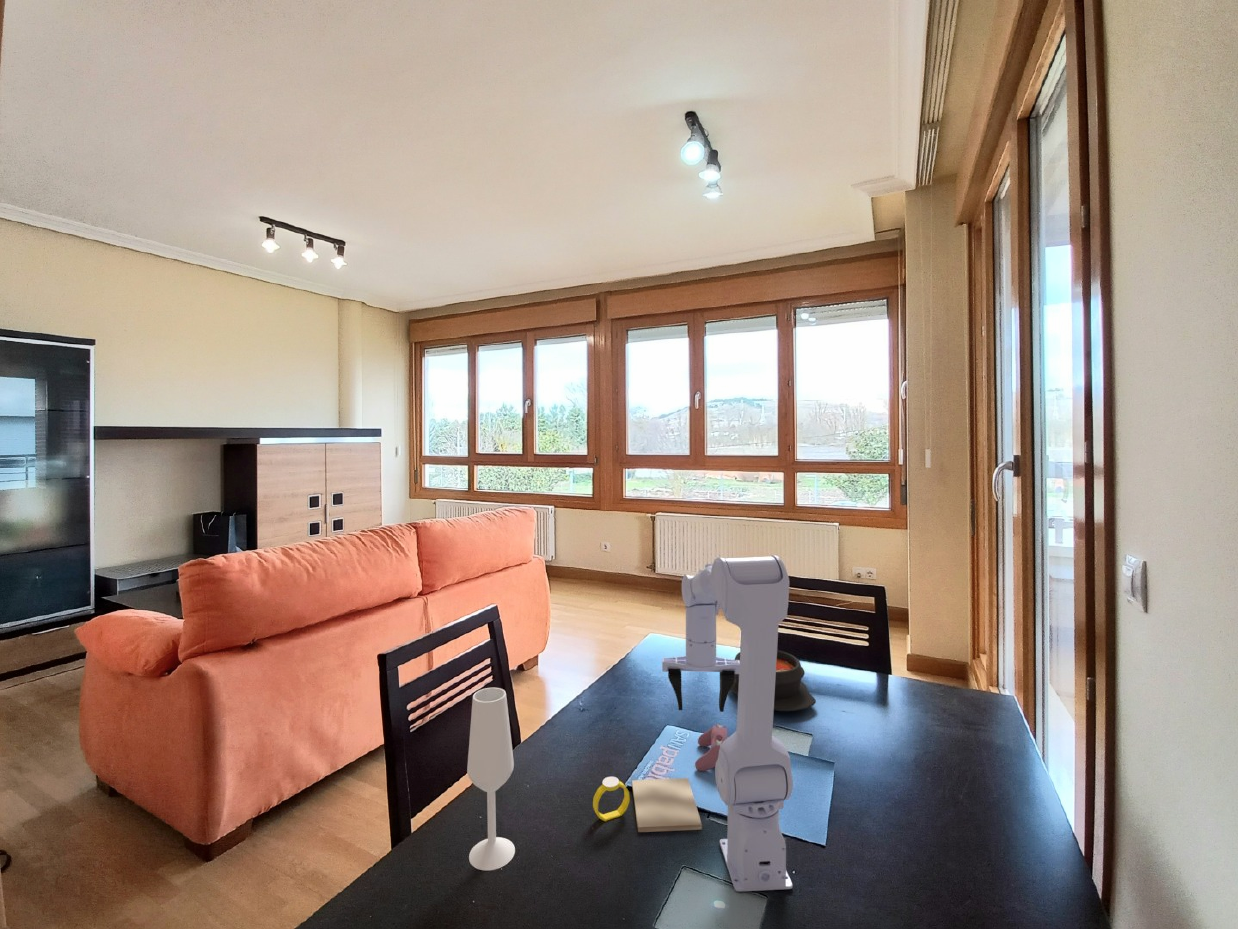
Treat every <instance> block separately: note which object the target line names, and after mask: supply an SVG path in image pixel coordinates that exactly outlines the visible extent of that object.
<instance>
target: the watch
mask: <svg viewBox="0 0 1238 929" xmlns="http://www.w3.org/2000/svg"><path fill="white" fill-rule="evenodd" d="M619 788H622V789H623V794H624V797H623V800H622V802H621V804H620V806H619V807H618V808H617V809H616V810H612V811H610V812H606V813H601V812H600V811H599V802H600V800H601V797H602V795H603V794H604V793H605V792H612V791H613V792H614V791H616V790H618V789H619ZM592 799H593V800H592V808H593V810H594V812H595V814H596V815H597V816H596V817H598V818H599V819H600V820H601V821H603V822H607V821H611V820H613V819H616V818H619V817H622V816H623V815H624V813H625V812H626V811H627V809H628V807H629V804H630V800H631V799H630V791H629V790H628V788H627V787H626V785H625V784H624V783H623V782H622V781H621V780H619V778H618V777H616V776H607V777H605V778H603V780H602V784H601V785H600V786H599V787H598V788H597V789H596V792H595V794H594V796H593V798H592Z"/></svg>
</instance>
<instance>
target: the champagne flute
mask: <svg viewBox="0 0 1238 929" xmlns="http://www.w3.org/2000/svg"><path fill="white" fill-rule="evenodd" d="M471 704H472V705H471V715H470V717H471V719H470V726H469V727H470V729H469V742H468V744H469V745H468V755H467V765H466V766H467V770H466V772H467V773H466V774H467V776H468V778H469V780H470V781H471V783H472V784H473V785H474V786H475V787H476V788H478V789H480V790H481V791H483V792H484V793H486V797H487V798H486V803H487V804H486V806H487V808H486V809H487V811H486V812H487V813H486V814H487V838H485V839H483V840H481V841H479V842H477V844H475V845H473V847H472V848H471V850H470V852H469V854H468V855H469V856H468V860H469V863H470V865H471V866H472V867H473V868H475V869H477V870H481V871H495V870H498V869H500V868H502V867H504V866H506V865H507V864H508V863H509V862H511V861H512V859H513V858H514V856H515V854H516V848H515V845H514V843H513V842H512V841H511V840H510V839H507V838H505V837H500V836H497V831H496V830H497V821H496V820H497V818H496V817H497V816H496V812H497V810H496V791H498V790H499V789H500V788H501V787H503V785H504V784H505V783H506V782H508V780H509V778H510V777H511V775H512V774H513V771H514V766H515V762H514V755H513V754H514V752H513V744H512V734H511V726H510V717H509V707H508V699H507V693H506V690H505V689H503V688H501V687H487V688H486V687H485V688H482V689H479V690H477V691H476V692H475V693H474V694H473V695H472V700H471Z"/></svg>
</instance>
